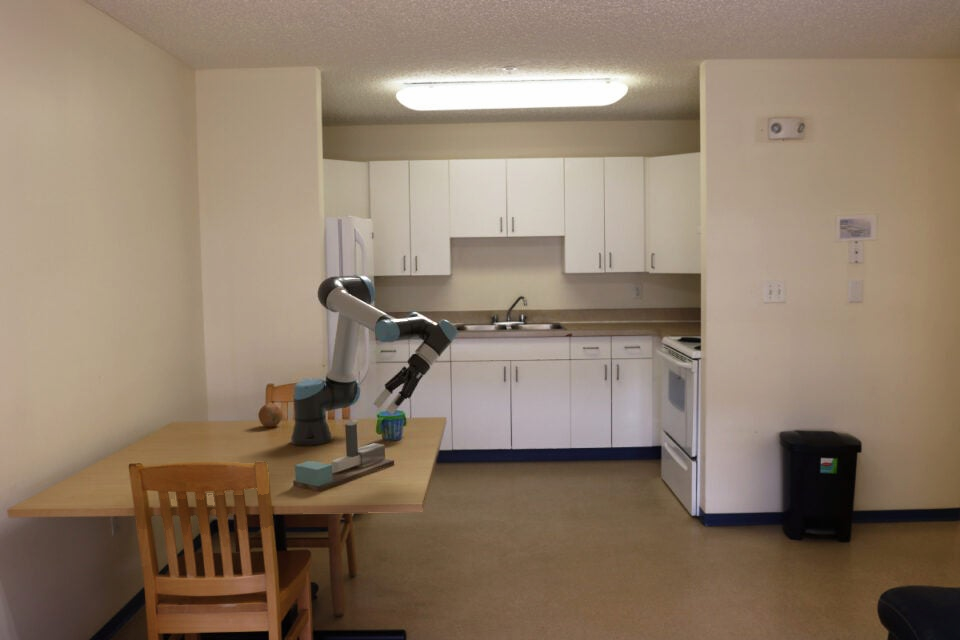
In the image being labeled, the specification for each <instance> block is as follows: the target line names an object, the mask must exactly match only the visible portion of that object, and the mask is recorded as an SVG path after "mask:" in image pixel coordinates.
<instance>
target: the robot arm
mask: <svg viewBox="0 0 960 640" xmlns="http://www.w3.org/2000/svg"><path fill="white" fill-rule="evenodd" d="M375 297H376V290H375V286H374V284H373V282H372V280H371V279H370V278H369V277H367V275H366V276H365V275H357V274H354V275H342V276H330V277H326V279H324V280H323V281H321V283H320V284H319V286H318V289H317V298H318V301H319V303H320V305H322V307H323V308H325V309H326V310H327V311H330V312H332V313H338V317H337V323H336V324H337V325H336V331H335V340H334V347H333V353H332V359H331V367H330V368H331V369H330V370H329V371H328V372H326V375H325V380H324V379H322V378H319V377H317V378H312V379H304V380H301V381H299V382H297V383H295V385H294V386H293V394H292V395H293V406H294V426H293V431H292V435H291V436H290V441H291V442H290V443H291V444H292V445H293V446H300V447H301V446H302V447H311V446H320V445H323V444H327V443H329V442H331V441H332V440H333V439H332V432H331V431H330V427H329V424H328V421H327V415H326V414H327V413H326V412H329V411H330V412H331V411H335V410H339V409H340V410H341V409H345V408H348V407H352V406H354V405H355V404H357V402H359V399H360V396H361V387H360V382H359V380H358V379H357V376H356V375H355V374H354V369H355V362H356V355H357V347H358V341H359V335H360V329H361V326H363V327H364V328H366V329H368V330H370V331H372V332H374V335H375V337H376V338H377V340H378V341H379V342H380V343H393V342H394V343H395V342H399V341H405V340H406V341H407V340H413V339H420V340H421V341H422V342H421V343H420V344H419V346H418V347H417V348H416V349H415V351H414V353H412V354H411V356H410V357H409V358H408V359H407V362H406V363H407V364H408V365H409V366H408V367H406V366H403V367H402V369H401V368H400V370H399V371H398V372H396V374H395V375H394V376H392V377H391V378H390V380H388V381H387V382H386V383H385V384H384V389H383V390H382V391H381V393H380V394H379V395H378V396H377V397H376V399H375V400H374V401H373V402H372V404H373V405H374V406H375V407H377V408H378V409H380V408H381V407H382V406H383V405H384V403H385V402H386V401H387V400H388V398H389V397H390V396H391V394H393V393H394V391H395V390H396V389H398V387H400V386H401V385H402V388H401V390H400V391H399V392H397V395H396V396H395V397H394V398H393V400H391V402H390V403H389V405H388V406H387V407H386V408H385V410H384V411H388V412H389V413H390V414H391V415H393V413H394V412H395V411H396V410H398V408H399V407H400V406H401V405H402V404H403V402H404V401H405V400H407V399H410V398H411V397H412V395H413V393H414V392H415V390H416V388H417V387H418V384H419V382H420V381H421V379H422V378H423V377H424V376H425V375H426V374H427V373H428V372H429V370H430V369H431V366H433V365H434V364H435V363H437V362H438V359H439V358H440V357H441V355H442V354H443V353H444V351H445V350H446V349H447V348H448V347H449V346H450V345H451V344H452V343H453V341H454V340H455V338H456V337H457V335H458V331H459V330H458V329H457V328H456V327H455V325H454V324H453V323H452V322H450V321H449V320H446V319H441V320H439V322H435V321H434V320H432V319H430V318H429V317H427V316H426V315H424V314H422V313H419V312H416V311H412V312H410V313H408V314H406V317H398V318H396V317H393V316H392V315H390V314H387V313H386V312H384V311H382V310H379V309H378V308H376V307H374V306H372V304H373V303H374V301H375Z"/></svg>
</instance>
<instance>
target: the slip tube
mask: <svg viewBox="0 0 960 640" xmlns="http://www.w3.org/2000/svg"><path fill="white" fill-rule="evenodd" d="M358 423H359V420H355V419H349V420H345V421H343V425H344V429H345V430H344V431H345V432H344V433H345V448H346V449H345V451H346V452H345V453H346V455H345V456H342V457H339V458H336V459H333V460H331V462H330V463H331V464H330V465H332V470H333V471H338V472H339V471H341V470H344V469H347V468H350V467H353V466H356V465H359V464H361V454H358V448H359V447H358V428H357V427H358Z"/></svg>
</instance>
